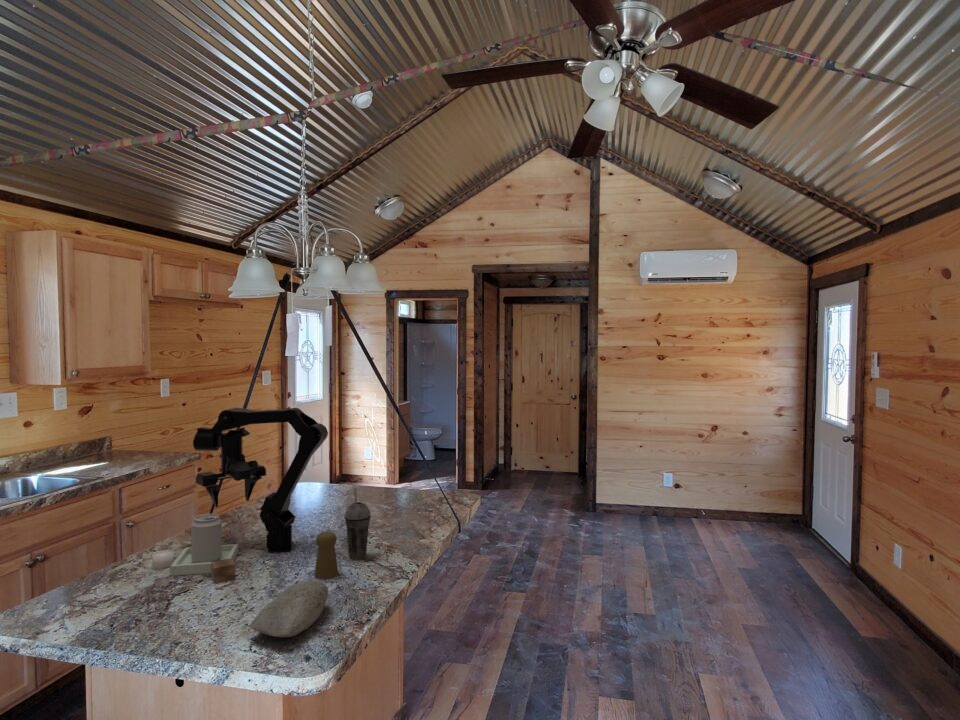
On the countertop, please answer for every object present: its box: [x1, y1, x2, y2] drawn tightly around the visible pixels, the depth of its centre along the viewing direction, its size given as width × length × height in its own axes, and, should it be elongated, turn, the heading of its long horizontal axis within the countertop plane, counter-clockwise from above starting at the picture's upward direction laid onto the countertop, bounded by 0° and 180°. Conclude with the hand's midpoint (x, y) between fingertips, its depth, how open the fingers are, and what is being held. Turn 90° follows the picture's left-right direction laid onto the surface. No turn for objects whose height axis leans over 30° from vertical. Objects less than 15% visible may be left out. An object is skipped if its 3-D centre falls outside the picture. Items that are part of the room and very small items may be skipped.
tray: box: [169, 543, 239, 577], centre depth 155 cm, size 14×14×2 cm
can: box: [190, 513, 223, 563], centre depth 155 cm, size 8×8×12 cm
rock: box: [249, 580, 329, 638], centre depth 122 cm, size 8×11×20 cm
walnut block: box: [210, 558, 236, 584], centre depth 146 cm, size 5×5×4 cm
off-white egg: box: [151, 549, 175, 570], centre depth 153 cm, size 5×5×4 cm
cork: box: [313, 531, 339, 580], centre depth 148 cm, size 6×6×11 cm
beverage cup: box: [344, 487, 372, 561], centre depth 160 cm, size 7×7×20 cm
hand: (232, 503), depth 167 cm, fingers open, 9 cm apart
